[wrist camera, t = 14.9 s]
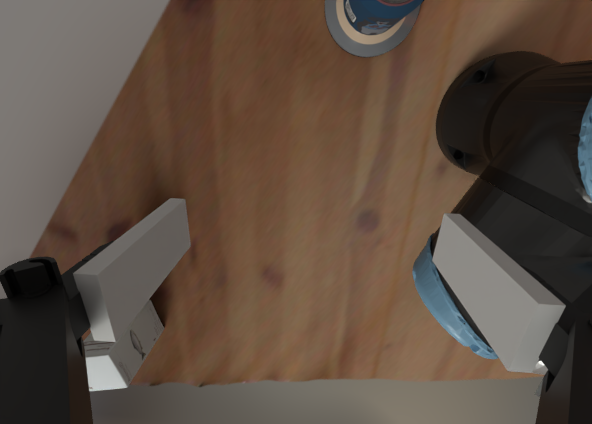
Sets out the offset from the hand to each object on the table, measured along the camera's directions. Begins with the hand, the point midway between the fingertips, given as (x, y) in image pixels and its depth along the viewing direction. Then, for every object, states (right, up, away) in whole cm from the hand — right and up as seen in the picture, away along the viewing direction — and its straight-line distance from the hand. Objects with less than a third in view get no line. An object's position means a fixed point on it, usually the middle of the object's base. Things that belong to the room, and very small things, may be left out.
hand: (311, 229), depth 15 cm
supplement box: (-31, -19, +41) cm, 55 cm away
